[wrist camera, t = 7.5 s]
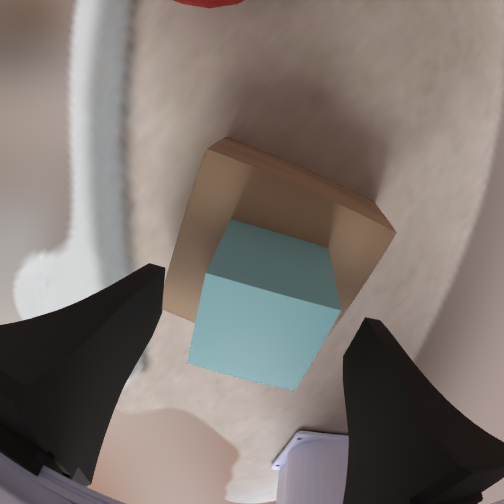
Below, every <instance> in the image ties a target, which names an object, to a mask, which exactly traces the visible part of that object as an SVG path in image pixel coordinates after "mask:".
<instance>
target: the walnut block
mask: <svg viewBox="0 0 504 504" xmlns="http://www.w3.org/2000/svg"><path fill="white" fill-rule="evenodd" d="M231 219H232V220H236V221H239V222H243V223H246V224H250V225H253V226H256V227H260V228H263V229H267V230H270V231H274V232H277V233H280V234H284V235H287V236H290V237H294V238H297V239H300V240H304V241H307V242H310V243H314V244H317V245H320V246H324V247H327V248H329V253H330V257H331V262H332V267H333V271H334V276H335V281H336V286H337V291H338V296H339V301H340V307H341V312H340V314H339V316H338V317H337V319H336V321H335V323H334V325H333V327H332V328H331V330H330V332H331V331H332V330H333V328H334V327H335V326H336V324H337V323H338V321H339V320H340V319H341V317H342V316H343V314H344V313H345V312H346V310H347V309H348V307H349V306H350V304H351V303H352V301H353V300H354V299H355V297H356V296H357V294H358V293H359V291H360V290H361V288H362V287H363V285H364V284H365V282H366V281H367V279H368V278H369V276H370V275H371V273H372V271H373V270H374V268H375V267H376V265H377V264H378V262H379V260H380V259H381V257H382V256H383V254H384V252H385V251H386V249H387V248H388V246H389V244H390V243H391V241H392V239H393V238H394V236H395V234H396V233H397V232H396V231H395V230H394V228H393V227H392V225H391V224H390V223H389V221H388V220H387V219H386V217H385V216H384V214H383V213H382V212H381V210H380V209H379V208H378V206H377V205H376V204H375V203H374V202H372V201H370V200H368V199H366V198H364V197H362V196H360V195H358V194H356V193H354V192H352V191H350V190H348V189H346V188H344V187H342V186H340V185H338V184H336V183H333V182H331V181H329V180H327V179H325V178H323V177H321V176H318V175H316V174H314V173H312V172H310V171H307V170H305V169H303V168H301V167H298V166H296V165H294V164H291V163H289V162H287V161H284V160H282V159H280V158H277V157H275V156H273V155H270V154H268V153H265V152H263V151H260V150H258V149H255V148H253V147H250V146H248V145H245V144H243V143H240V142H238V141H235V140H232V139H230V138H227V137H225V138H224V139H222V140H220V141H219V142H217V143H215V144H214V145H212V146H211V147H209V148H207V150H206V153H205V156H204V158H203V161H202V164H201V167H200V170H199V173H198V176H197V179H196V182H195V185H194V188H193V191H192V194H191V197H190V200H189V203H188V206H187V209H186V212H185V216H184V219H183V222H182V225H181V228H180V232H179V235H178V238H177V242H176V245H175V248H174V252H173V255H172V259H171V262H170V266H169V269H168V273H167V277H166V280H165V284H164V291H163V305H162V309H163V310H165V311H167V312H170V313H172V314H174V315H177V316H179V317H182V318H184V319H187V320H189V321H192V322H194V323H195V321H196V316H197V312H198V307H199V302H200V297H201V292H202V288H203V283H204V278H205V274H206V271H207V269H208V267H209V265H210V262H211V260H212V258H213V256H214V254H215V252H216V249H217V247H218V245H219V243H220V241H221V239H222V237H223V234H224V232H225V230H226V228H227V226H228V224H229V222H230V220H231ZM330 332H329V334H330ZM329 334H328V335H329ZM326 338H327V337H326Z"/></svg>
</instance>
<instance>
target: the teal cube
mask: <svg viewBox="0 0 504 504" xmlns="http://www.w3.org/2000/svg"><path fill="white" fill-rule="evenodd" d="M340 312H341V307H340V301H339V296H338V291H337V286H336V281H335V276H334V271H333V267H332V262H331V257H330V253H329V248H327V247H324V246H320V245H317V244H314V243H310V242H307V241H304V240H300V239H297V238H294V237H290V236H287V235H284V234H280V233H277V232H274V231H270V230H267V229H263V228H260V227H256V226H253V225H250V224H246V223H243V222H239V221H236V220H232V219H231V220H230V222H229V224H228V226H227V228H226V230H225V232H224V234H223V237H222V239H221V241H220V243H219V245H218V247H217V249H216V252H215V254H214V256H213V258H212V260H211V262H210V265H209V267H208V269H207V271H206V274H205V278H204V283H203V288H202V292H201V297H200V302H199V307H198V312H197V316H196V321H195V326H194V331H193V336H192V341H191V347H190V352H189V357H188V362H187V363H188V364H192V365H195V366H198V367H201V368H205V369H208V370H212V371H215V372H219V373H222V374H226V375H230V376H233V377H237V378H241V379H245V380H249V381H253V382H257V383H261V384H266V385H270V386H274V387H279V388H284V389H288V390H293V391H295V389H296V388H297V386H298V384H299V383H300V381H301V380H302V378H303V376H304V375H305V373H306V371H307V370H308V368H309V366H310V365H311V363H312V361H313V360H314V358H315V356H316V355H317V353H318V351H319V350H320V348H321V346H322V344H323V343H324V341H325V339H326V337H327V336H328V334H329V332H330V330H331V328H332V327H333V325H334V323H335V321H336V319H337V317H338V316H339V314H340Z"/></svg>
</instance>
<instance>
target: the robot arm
mask: <svg viewBox="0 0 504 504" xmlns="http://www.w3.org/2000/svg"><path fill="white" fill-rule="evenodd" d="M164 278H165V268H164V267H161V266H157V265H154V264H150V263H149V264H147V265H145V266H143V267H142V268H140V269H138V270H137V271H135V272H133V273H131V274H130V275H128V276H126V277H125V278H123V279H121V280H119V281H118V282H116V283H114V284H112V285H111V286H109V287H107V288H105V289H103V290H101V291H99V292H97V293H95V294H93V295H91V296H89V297H87V298H85V299H83V300H81V301H79V302H77V303H74V304H72V305H70V306H67V307H65V308H62V309H59V310H57V311H54V312H51V313H47V314H44V315H41V316H38V317H35V318H31V319H28V320H23V321H19V322H15V323H9V324H4V325H0V504H125V503H123V502H120V501H117V500H115V499H112V498H110V497H107V496H105V495H103V494H100V493H98V492H96V491H94V490H91V489H89V488H87V487H85V486H88V485H91V483H92V479H93V475H94V471H95V467H96V463H97V459H98V456H99V453H100V449H101V446H102V443H103V439H104V437H105V433H106V431H107V428H108V425H109V422H110V419H111V417H112V414H113V411H114V409H115V406H116V404H117V401H118V399H119V396H120V394H121V392H122V389H123V387H124V385H125V383H126V381H127V379H128V378H129V376H130V374H131V372H132V371H133V369H134V367H135V365H136V364H137V362H138V360H139V358H140V357H141V355H142V353H143V351H144V350H145V348H146V346H147V344H148V343H149V341H150V339H151V337H152V336H153V333H154V331H155V328H156V326H157V324H158V321H159V319H160V316H161V314H162V305H163V291H164ZM343 386H344V395H345V404H346V413H347V423H348V435H336V434H326V433H317V432H309V431H298V432H297V433H296V434H295V435H294V437H293V438H292V439H291V441H290V442H289V443H288V445H287V446H286V447H285V448H284V450H283V451H282V452H281V454H280V455H279V456H278V457H277V459H276V460H275V461H274V462H273V464H272V465H271V469H273V470H279V477H278V488H277V499H276V504H477V503H479V502H481V501H482V499H483V497H482V493H481V492H483V491H484V490H486V489H487V488H489V487H490V486H492V485H493V484H495V483H496V482H498V481H499V480H501V479H502V478H503V477H504V442H502V441H501V440H499V439H497V438H495V437H494V436H492V435H490V434H489V433H487V432H486V431H484V430H483V429H481V428H480V427H479V426H477V425H476V424H474V423H473V422H472V421H471V420H469V419H468V418H467V417H465V416H464V415H463V414H462V413H461V412H460V411H459V410H457V409H456V408H455V407H454V406H453V405H452V404H450V402H449V401H447V400H446V399H445V398H444V396H443V395H442V394H441V393H439V391H437V389H436V388H435V387H434V386H433V385H432V384H431V383H430V382H429V381H428V379H427V378H426V377H425V376H424V375H423V373H422V372H421V371H420V370H419V369H418V367H417V366H416V365H415V364H414V362H413V361H412V360H411V359H410V357H409V356H408V355H407V353H406V352H405V351H404V350H403V348H402V347H401V346H400V344H399V343H398V342H397V340H396V339H395V338H394V337H393V335H392V334H391V333H390V331H389V330H388V329H387V328H386V327H385V325H384V324H383V323H382V322H381V321H380V320H376V319H371V318H367V317H365V319H364V321H363V322H362V324H361V326H360V328H359V330H358V331H357V333H356V335H355V337H354V339H353V340H352V342H351V344H350V346H349V347H348V349H347V351H346V352H345V354H344V356H343ZM492 504H504V500H500V501H498V502H495V503H492Z"/></svg>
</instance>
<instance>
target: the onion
mask: <svg viewBox="0 0 504 504" xmlns="http://www.w3.org/2000/svg"><path fill="white" fill-rule="evenodd" d="M174 1H176V2H179V3H182V4H186V5H192V6H199V7H205V8H214V7H220V6H226V5H233V4H238V3H240V2H242V1H244V0H174Z"/></svg>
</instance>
